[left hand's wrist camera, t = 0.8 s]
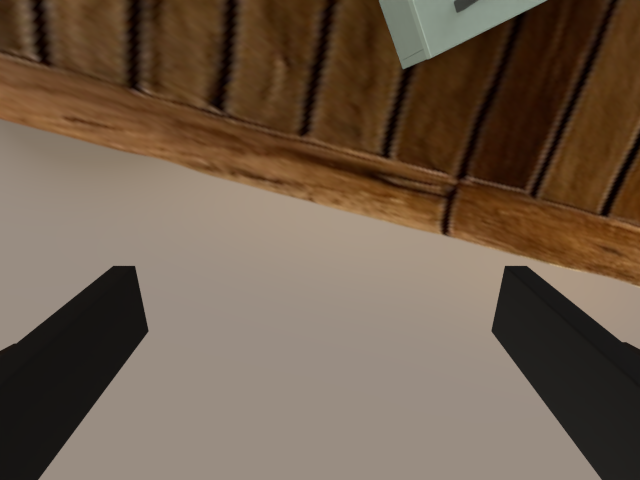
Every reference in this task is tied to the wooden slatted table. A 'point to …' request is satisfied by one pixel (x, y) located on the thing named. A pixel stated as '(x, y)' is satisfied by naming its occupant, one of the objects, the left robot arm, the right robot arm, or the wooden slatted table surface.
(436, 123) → the wooden slatted table surface
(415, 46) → the chest
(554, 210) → the wooden slatted table surface
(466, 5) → the lid
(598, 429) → the left robot arm
